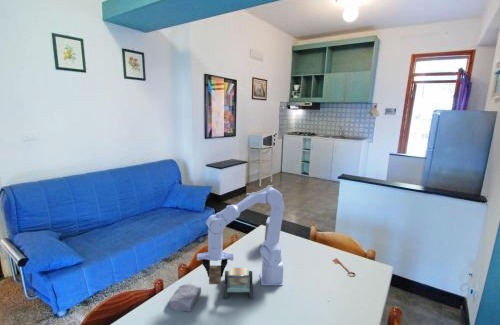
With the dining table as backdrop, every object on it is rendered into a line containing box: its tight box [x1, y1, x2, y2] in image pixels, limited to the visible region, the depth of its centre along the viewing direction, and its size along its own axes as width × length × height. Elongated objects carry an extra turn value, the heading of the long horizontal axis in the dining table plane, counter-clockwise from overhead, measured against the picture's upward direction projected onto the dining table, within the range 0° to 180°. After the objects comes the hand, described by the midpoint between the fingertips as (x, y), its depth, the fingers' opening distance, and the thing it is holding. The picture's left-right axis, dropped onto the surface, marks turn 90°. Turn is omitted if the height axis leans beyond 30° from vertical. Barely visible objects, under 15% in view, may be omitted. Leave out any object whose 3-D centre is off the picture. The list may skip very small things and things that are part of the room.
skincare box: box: [264, 216, 270, 241], centre depth 145 cm, size 8×7×16 cm
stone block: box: [168, 283, 202, 313], centre depth 103 cm, size 12×5×10 cm
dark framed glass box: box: [222, 267, 254, 299], centre depth 109 cm, size 12×14×10 cm
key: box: [332, 258, 356, 278], centre depth 127 cm, size 6×1×15 cm
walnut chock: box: [208, 264, 222, 285], centre depth 106 cm, size 4×7×6 cm, turn 2°
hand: (215, 275), depth 105 cm, fingers closed on walnut chock, 4 cm apart
